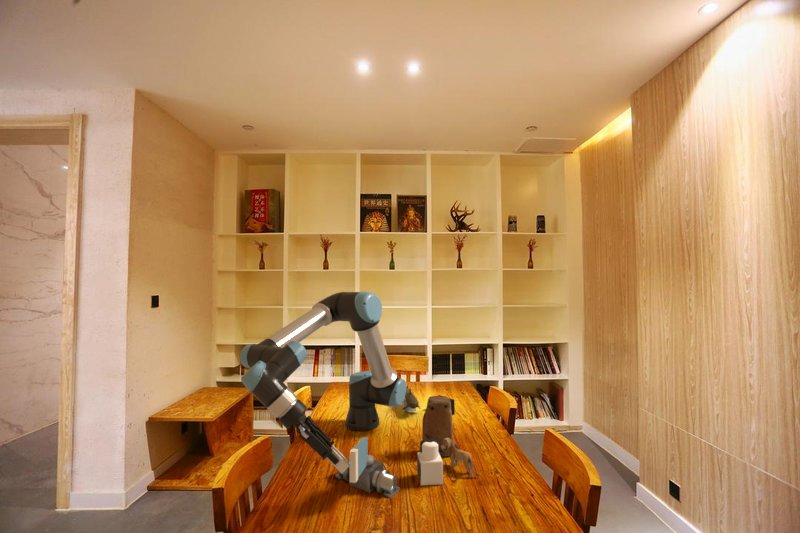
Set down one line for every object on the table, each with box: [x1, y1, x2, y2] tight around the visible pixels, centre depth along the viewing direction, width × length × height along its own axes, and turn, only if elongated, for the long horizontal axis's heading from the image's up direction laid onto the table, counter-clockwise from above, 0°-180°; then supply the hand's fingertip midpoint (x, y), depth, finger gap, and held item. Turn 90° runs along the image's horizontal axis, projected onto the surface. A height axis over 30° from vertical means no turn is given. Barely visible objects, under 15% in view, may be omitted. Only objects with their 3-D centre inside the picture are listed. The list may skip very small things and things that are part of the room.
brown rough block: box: [421, 395, 454, 458], centre depth 135 cm, size 11×8×20 cm
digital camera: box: [438, 395, 456, 416], centre depth 180 cm, size 10×5×7 cm, turn 37°
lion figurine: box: [441, 438, 480, 479], centre depth 123 cm, size 15×5×9 cm, turn 45°
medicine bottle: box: [416, 438, 444, 487], centre depth 117 cm, size 7×7×12 cm
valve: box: [334, 458, 401, 499], centre depth 114 cm, size 22×7×7 cm, turn 57°
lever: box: [349, 436, 374, 483], centre depth 110 cm, size 14×4×8 cm, turn 167°
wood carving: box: [399, 377, 421, 412], centre depth 187 cm, size 9×35×11 cm, turn 11°
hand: (345, 467), depth 104 cm, fingers open, 2 cm apart
